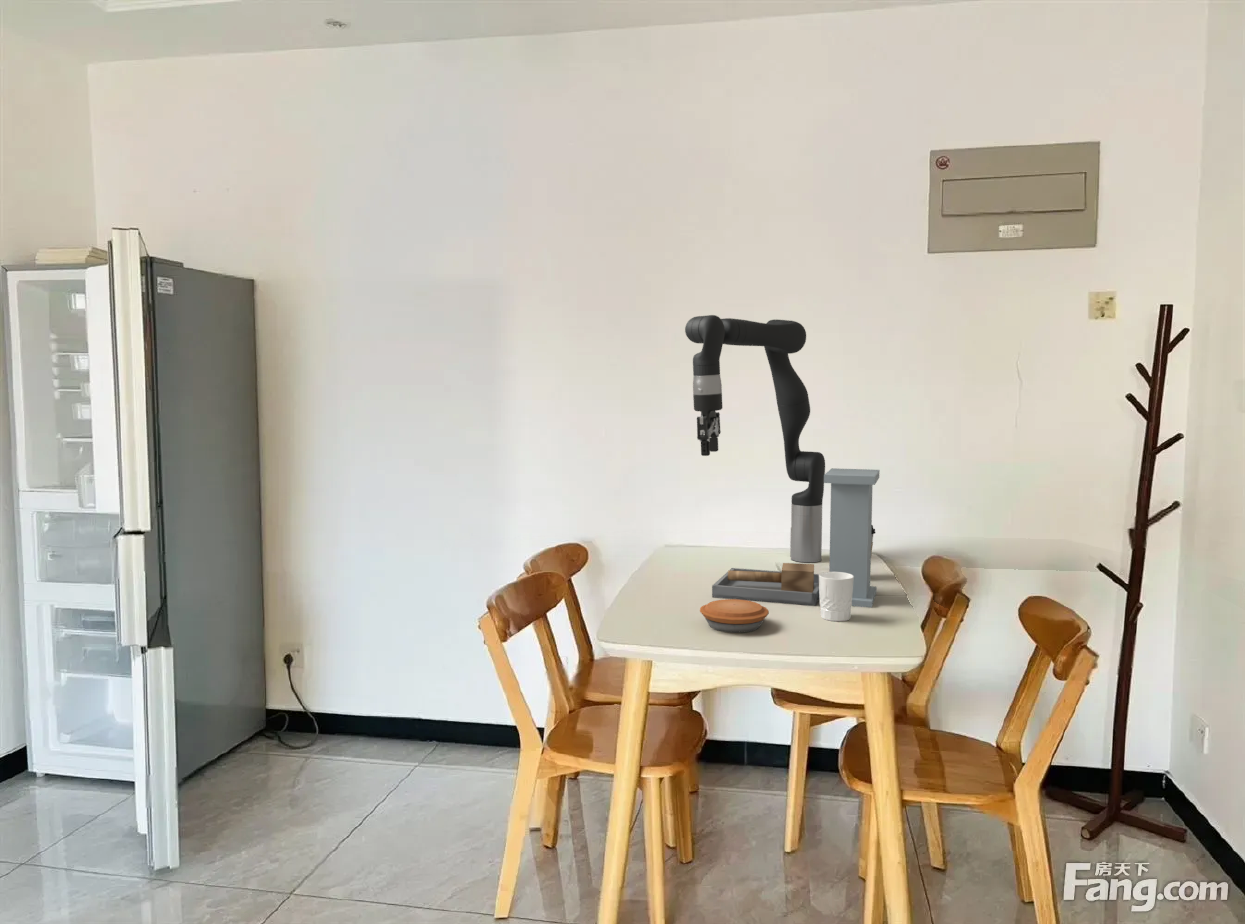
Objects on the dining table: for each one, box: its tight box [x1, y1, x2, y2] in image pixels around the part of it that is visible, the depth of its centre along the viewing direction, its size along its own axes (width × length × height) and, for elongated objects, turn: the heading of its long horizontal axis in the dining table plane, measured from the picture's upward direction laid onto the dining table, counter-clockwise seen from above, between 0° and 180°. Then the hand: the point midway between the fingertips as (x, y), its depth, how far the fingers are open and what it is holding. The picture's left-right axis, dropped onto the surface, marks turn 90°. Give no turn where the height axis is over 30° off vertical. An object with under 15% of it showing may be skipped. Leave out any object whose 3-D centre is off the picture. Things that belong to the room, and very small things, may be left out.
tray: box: [711, 567, 820, 607], centre depth 227 cm, size 26×22×3 cm
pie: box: [699, 598, 770, 633], centre depth 196 cm, size 16×16×5 cm
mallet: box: [727, 562, 815, 593], centre depth 227 cm, size 22×9×6 cm, turn 77°
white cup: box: [818, 571, 854, 622], centre depth 202 cm, size 8×8×10 cm
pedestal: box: [824, 467, 880, 608], centre depth 219 cm, size 12×16×32 cm
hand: (710, 453), depth 231 cm, fingers open, 8 cm apart
